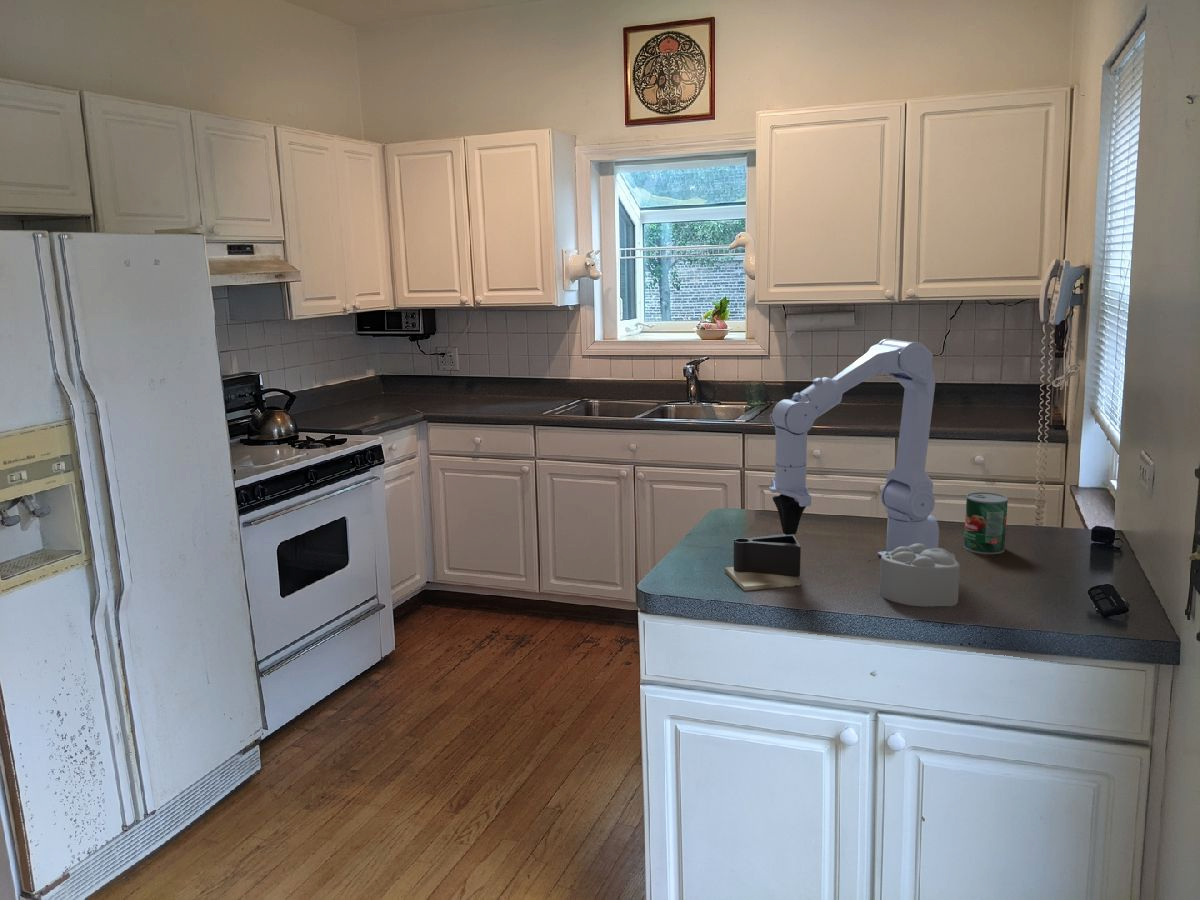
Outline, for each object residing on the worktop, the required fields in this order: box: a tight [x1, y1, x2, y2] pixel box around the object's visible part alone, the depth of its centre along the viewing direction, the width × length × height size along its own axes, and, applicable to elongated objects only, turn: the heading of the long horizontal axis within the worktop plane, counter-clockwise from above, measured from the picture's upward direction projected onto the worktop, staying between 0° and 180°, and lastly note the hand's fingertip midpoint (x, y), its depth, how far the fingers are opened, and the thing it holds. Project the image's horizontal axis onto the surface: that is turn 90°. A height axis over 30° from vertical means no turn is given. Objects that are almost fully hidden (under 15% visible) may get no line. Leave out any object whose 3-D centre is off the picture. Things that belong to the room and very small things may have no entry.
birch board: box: [724, 566, 801, 592], centre depth 179 cm, size 11×11×1 cm
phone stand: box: [733, 533, 802, 578], centre depth 180 cm, size 9×6×12 cm
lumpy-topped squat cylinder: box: [879, 543, 961, 608], centre depth 167 cm, size 10×13×9 cm
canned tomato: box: [963, 491, 1009, 555], centre depth 192 cm, size 8×8×11 cm
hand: (789, 533), depth 178 cm, fingers closed
